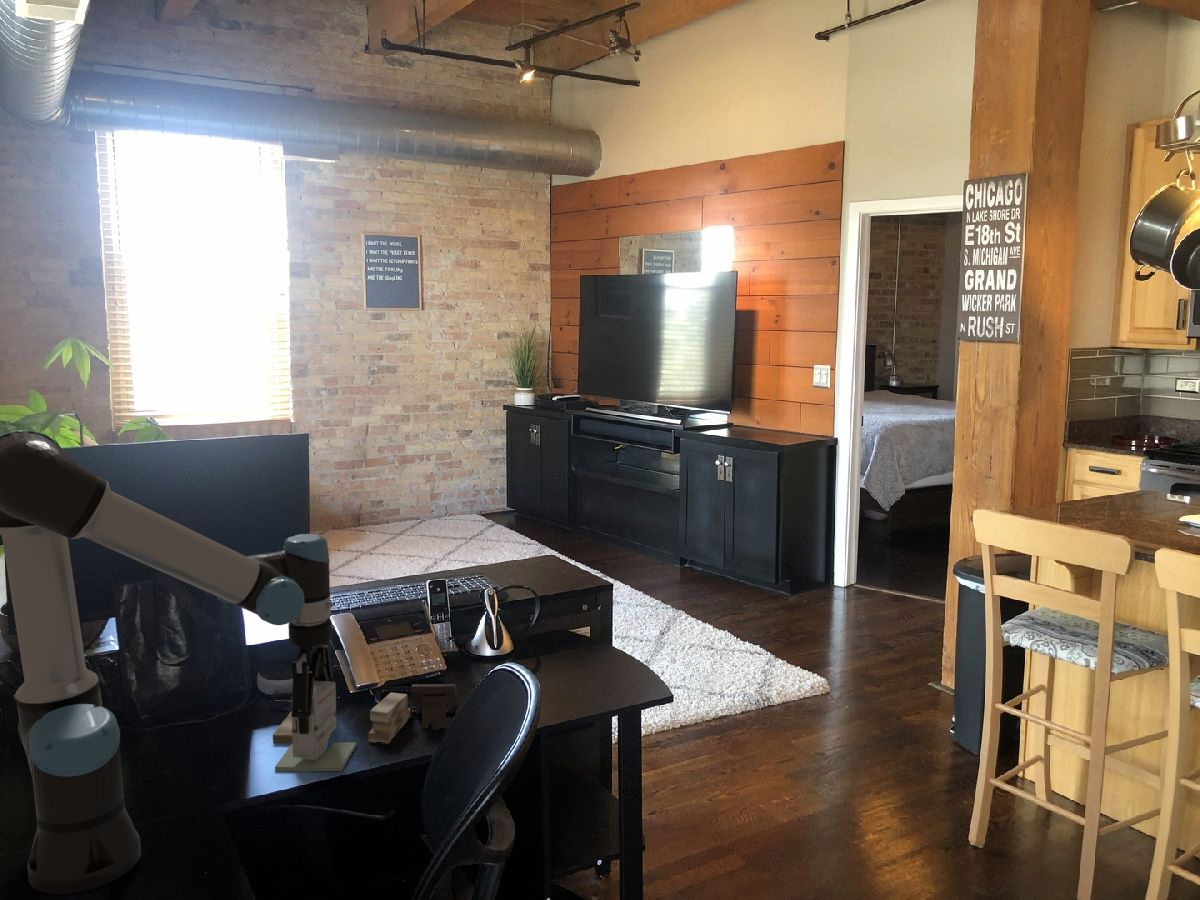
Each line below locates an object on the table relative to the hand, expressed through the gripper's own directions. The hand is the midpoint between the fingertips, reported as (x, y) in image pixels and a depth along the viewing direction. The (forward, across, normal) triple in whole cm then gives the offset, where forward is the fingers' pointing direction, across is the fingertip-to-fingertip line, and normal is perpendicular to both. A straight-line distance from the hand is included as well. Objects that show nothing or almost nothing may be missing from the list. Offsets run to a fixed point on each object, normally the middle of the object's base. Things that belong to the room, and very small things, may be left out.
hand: (315, 736), depth 181 cm
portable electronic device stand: (+5, +17, -19) cm, 26 cm away
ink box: (+3, 0, 0) cm, 3 cm away
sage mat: (+4, 0, 0) cm, 4 cm away
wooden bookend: (+4, +13, +7) cm, 15 cm away
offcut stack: (+5, +13, -11) cm, 17 cm away
